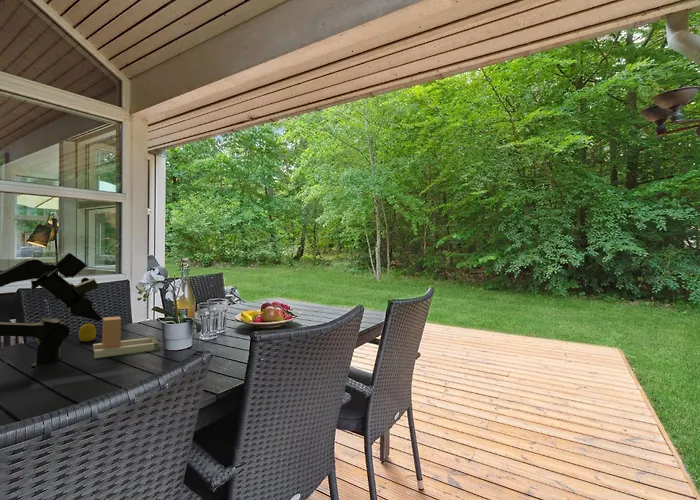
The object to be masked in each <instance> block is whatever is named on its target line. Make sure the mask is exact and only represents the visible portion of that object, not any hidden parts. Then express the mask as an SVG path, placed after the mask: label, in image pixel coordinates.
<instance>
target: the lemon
mask: <svg viewBox="0 0 700 500" xmlns="http://www.w3.org/2000/svg"><path fill="white" fill-rule="evenodd" d="M95 337H97V328H96V326H95V325H94V324H92V323H90V322H87V323H84V324H83V325H82V326H80V328H79V330H78V338H79V340H80V341H81V342H84V343H85V342H91V341H93V340H94V339H95Z"/></svg>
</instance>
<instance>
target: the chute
mask: <svg viewBox="0 0 700 500" xmlns="http://www.w3.org/2000/svg"><path fill="white" fill-rule="evenodd" d="M159 346H160V345H159V342H158V340H157V339H156V337H154V336H153V337H152V336H150V337H141V338H135V339H124V340H120V347H113V348H105V349H102V342H99V343H93V344H92V352H93V353H94V354H93V358H94V359H100V358H107V357H114V356H120V355H127V354H128V355H129V354H136V353H144V352H150V351H158V350H159Z"/></svg>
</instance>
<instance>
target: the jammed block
mask: <svg viewBox="0 0 700 500" xmlns="http://www.w3.org/2000/svg"><path fill="white" fill-rule="evenodd" d="M121 327H122V318H121V317H120V315H119V316H109V317H108V316H107V317H106V316H105V317H102V334H101V335H102V336H101V337H102V339H101V341H102V342H101V343H102V349H105V348H113V347H120V341H121V338H122V337H121V333H122V330H121V329H122V328H121Z"/></svg>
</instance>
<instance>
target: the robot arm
mask: <svg viewBox="0 0 700 500" xmlns="http://www.w3.org/2000/svg"><path fill="white" fill-rule="evenodd" d="M87 267H88V265H87V264H86V263H85V262H84V261H83V260H81V259H79V258H78V257H77V256H75V255H74V254H73V253H72V252H68V253H66V254H65V255H64V256H63V257H62V258H61V259H59V260H58V261H57V262H55V263H52V262H43V261H41V259H40V260H39V259H37V258H34V257H32V258H31V257H29V258H26V259H24V260H22V261H21V262H18V263H16V264H14V265H13V266H11V267H10V268H7V269H6V270H4V271H2V272H0V288H2V287H4V286H7V285H9V284H12V283H17V282H24V281H28V280H30V279H31V280H30V283H31V289H32V290H35V289H37V288H38V287H41V289H43V290H45V291H46V292H47V293H48V294H50V295H51V296H52V297H54V299H55V300H56V301H59V302H61V303H63V304H64V305H65V307H66V308H68V310H69V313H70V315H73V316H74V317H81V318H83V319H84V318H85V319H89V320H93V321H96V322H100V321H101V320H103V317H101V316H100V314H99V313H98V312H97V311H96V310H95V309H94V308H93V300H92V299H90V296H88V294H87V292H90V291H92V290H96V289H98V288H99V287H100V286H99V284H98V283H97V281H96V279H95V278H93V277H92V278H90V279H89V278H88V277H86V276H85V277H83V278H81V280H80V282H79V283H77V284H75V285H74V284H73V283H70V282H69V281H68V280H66V279H68V278H72V279H73V278H74V277H76V276H77V275H78V274H79V273H80V272H82V271H83V270H84V269H86V268H87ZM46 273H49V274H48V275H47V274H46ZM58 273H59V274H58ZM61 275H62V276H63V277H62V276H61ZM36 278H37V279H36ZM65 278H66V279H65ZM32 279H36V280H32ZM69 335H70V328H69V326H68V325H67V324H66V323H65V322H64V321H62V320H60V319H58V318H47V317H41V321H39V322H33V323H32V322H31V323H29V322H8V321H7V322H5V321H4V322H3V321H0V337H23V338H24V337H25V338H29V337H31V338H34V339H35V340H36V342H37V344H38V345H37V346H36V362H35V363H33V364H31V365H30V367H32V368H35V367H36V365H38V364H41V365H42V364H43V365H44V364H50V363H53V362H57V361H60V360H61V346H62V343H63V341H64V340H65V339H67V338H68V336H69Z"/></svg>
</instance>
